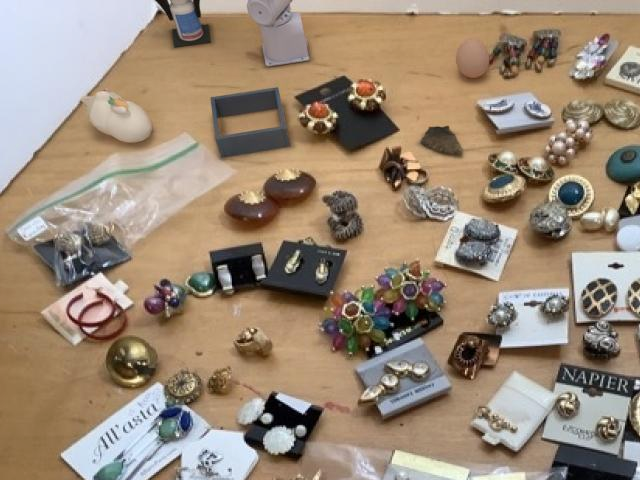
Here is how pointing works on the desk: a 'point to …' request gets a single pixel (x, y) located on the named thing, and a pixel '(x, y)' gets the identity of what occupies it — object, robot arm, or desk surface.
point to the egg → (472, 58)
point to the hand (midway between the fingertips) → (185, 16)
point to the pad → (203, 39)
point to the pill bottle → (186, 19)
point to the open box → (250, 139)
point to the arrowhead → (442, 140)
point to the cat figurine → (117, 116)
